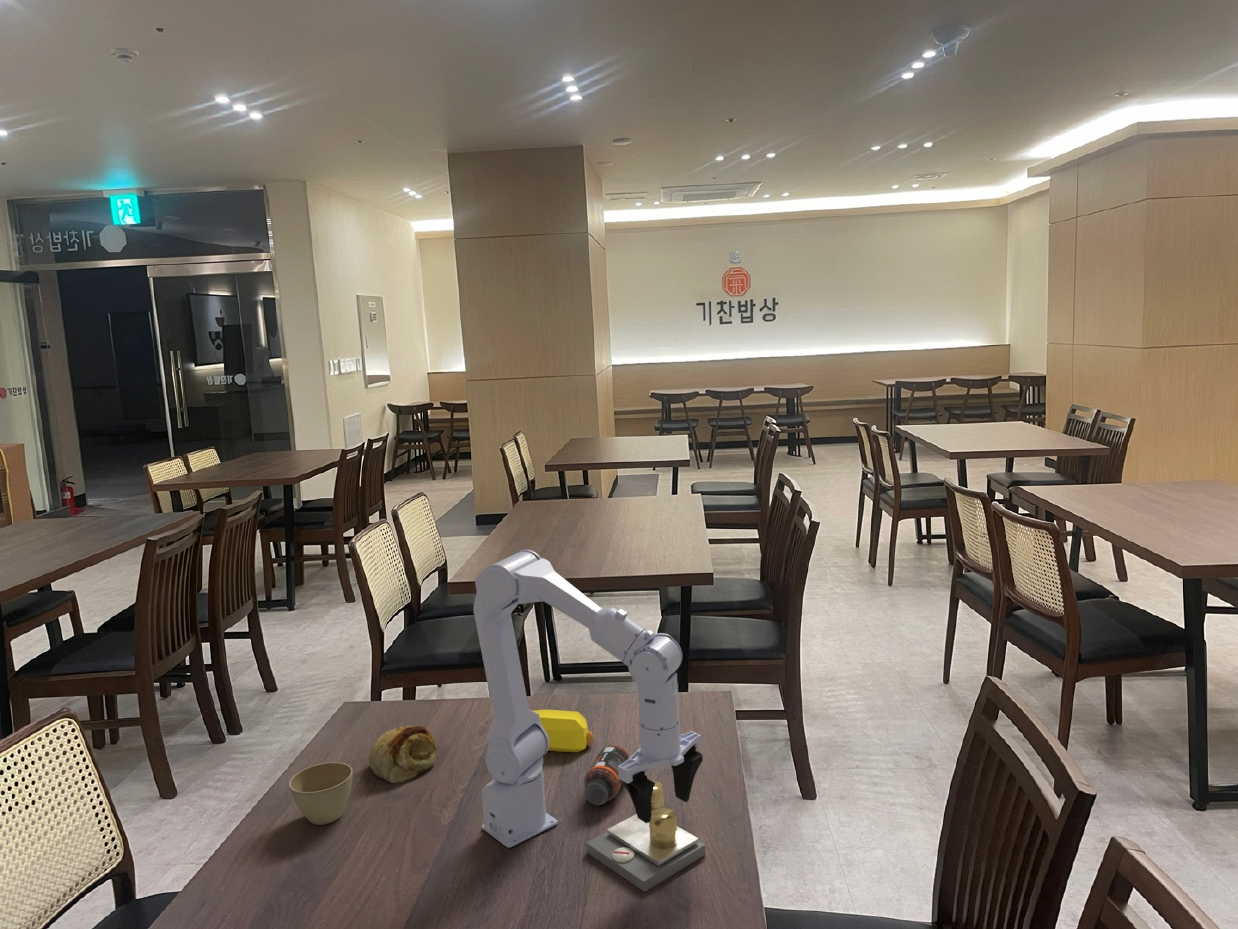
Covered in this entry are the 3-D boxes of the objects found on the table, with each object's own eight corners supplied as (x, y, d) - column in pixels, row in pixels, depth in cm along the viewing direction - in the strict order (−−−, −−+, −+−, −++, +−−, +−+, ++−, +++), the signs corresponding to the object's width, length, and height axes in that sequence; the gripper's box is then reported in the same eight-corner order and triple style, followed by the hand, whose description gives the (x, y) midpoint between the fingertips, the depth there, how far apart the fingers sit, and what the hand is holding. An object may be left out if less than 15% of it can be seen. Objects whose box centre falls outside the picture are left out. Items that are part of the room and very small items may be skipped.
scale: (644, 892, 120) (643, 879, 120) (586, 852, 130) (585, 840, 130) (705, 855, 128) (704, 842, 128) (646, 820, 138) (645, 808, 138)
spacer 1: (654, 820, 138) (652, 797, 137) (634, 812, 140) (632, 789, 140) (669, 808, 141) (667, 785, 140) (649, 800, 143) (648, 778, 143)
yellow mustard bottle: (591, 757, 160) (597, 737, 167) (588, 722, 159) (595, 704, 166) (495, 756, 162) (505, 737, 169) (492, 722, 161) (503, 704, 168)
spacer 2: (663, 852, 125) (661, 826, 124) (644, 841, 128) (643, 815, 127) (683, 841, 127) (681, 815, 127) (664, 830, 131) (663, 805, 130)
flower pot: (368, 803, 148) (364, 763, 147) (334, 837, 138) (329, 795, 137) (317, 797, 151) (312, 759, 150) (280, 830, 141) (275, 789, 140)
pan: (658, 868, 123) (658, 862, 123) (607, 835, 132) (607, 829, 132) (698, 844, 128) (698, 838, 128) (646, 814, 137) (646, 808, 137)
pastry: (418, 787, 153) (413, 744, 151) (354, 782, 156) (349, 740, 154) (452, 748, 166) (448, 709, 165) (393, 744, 169) (389, 705, 168)
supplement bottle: (602, 739, 152) (583, 771, 141) (635, 750, 150) (617, 784, 140) (595, 768, 153) (575, 803, 142) (627, 780, 152) (609, 816, 141)
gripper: (639, 748, 117) (644, 841, 119) (714, 713, 126) (718, 800, 128) (606, 731, 122) (611, 820, 124) (680, 699, 131) (684, 782, 134)
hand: (663, 809), depth 127 cm, fingers open, 7 cm apart
